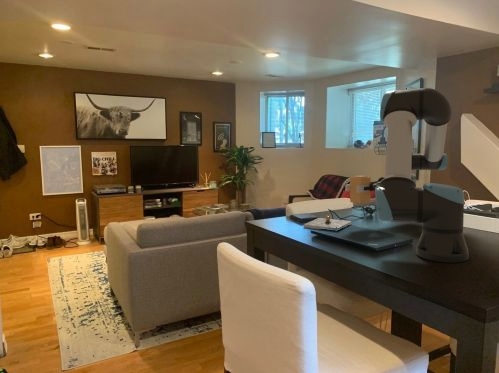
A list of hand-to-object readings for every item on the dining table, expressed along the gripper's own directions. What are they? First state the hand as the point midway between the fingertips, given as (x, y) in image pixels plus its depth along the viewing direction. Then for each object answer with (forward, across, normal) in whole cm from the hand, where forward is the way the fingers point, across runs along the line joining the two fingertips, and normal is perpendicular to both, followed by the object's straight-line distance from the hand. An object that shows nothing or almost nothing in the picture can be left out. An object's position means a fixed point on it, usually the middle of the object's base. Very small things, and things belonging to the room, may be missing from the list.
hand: (351, 188), depth 157 cm
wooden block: (-5, 0, -6) cm, 8 cm away
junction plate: (+5, +10, -18) cm, 21 cm away
